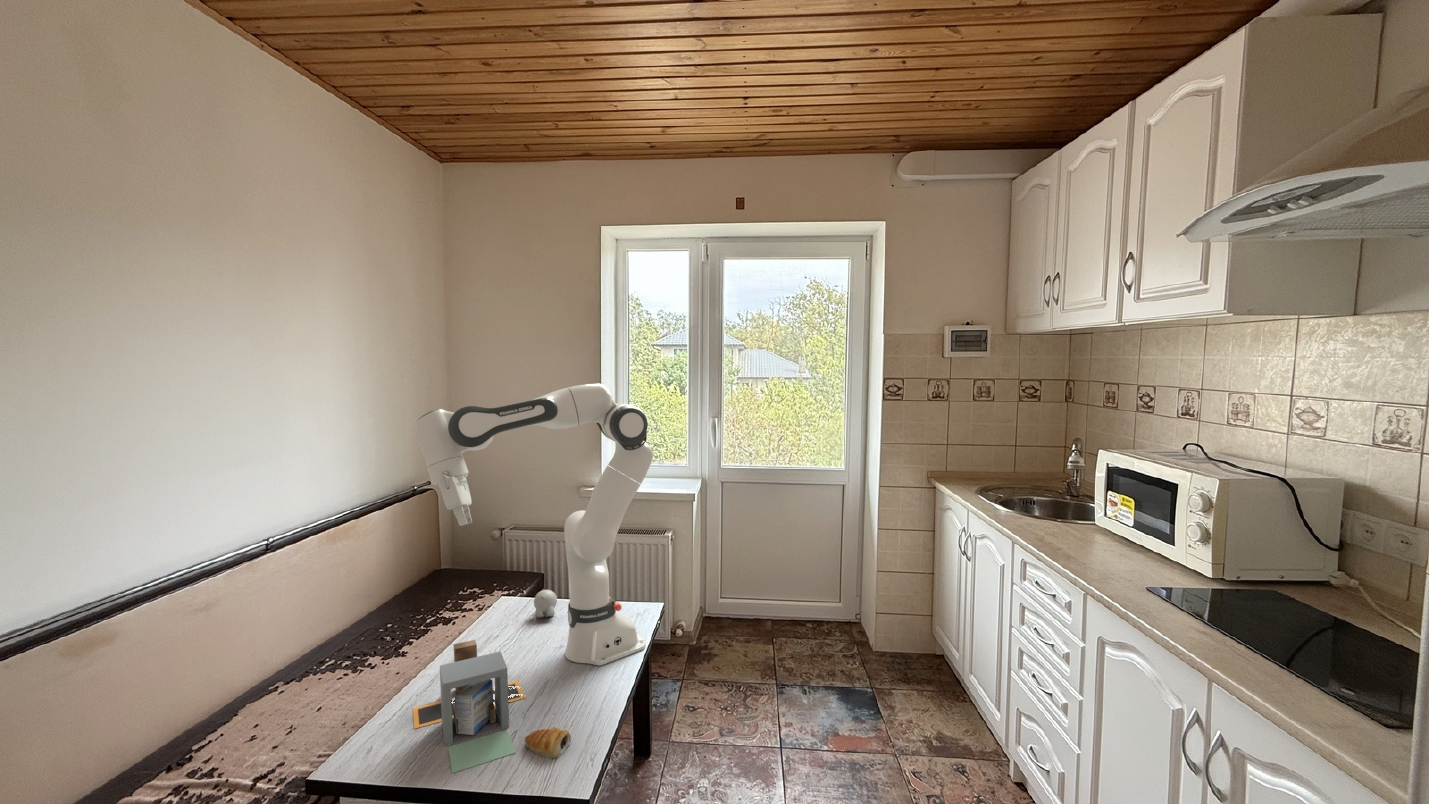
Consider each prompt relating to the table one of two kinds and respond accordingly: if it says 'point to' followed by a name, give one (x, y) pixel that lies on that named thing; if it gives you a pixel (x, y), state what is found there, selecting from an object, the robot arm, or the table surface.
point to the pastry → (548, 742)
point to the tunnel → (470, 674)
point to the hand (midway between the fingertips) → (466, 524)
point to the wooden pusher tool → (463, 653)
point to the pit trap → (433, 711)
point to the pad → (480, 751)
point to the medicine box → (473, 706)
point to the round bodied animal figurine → (545, 603)
